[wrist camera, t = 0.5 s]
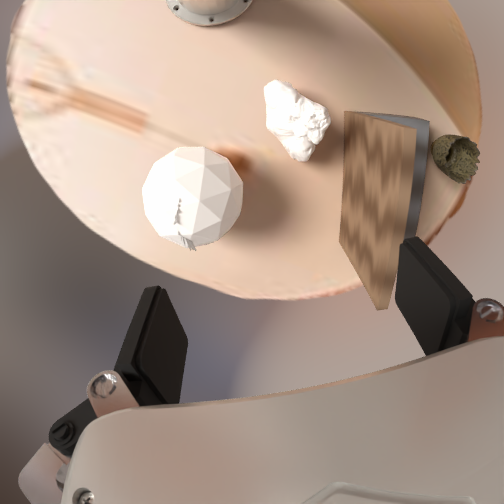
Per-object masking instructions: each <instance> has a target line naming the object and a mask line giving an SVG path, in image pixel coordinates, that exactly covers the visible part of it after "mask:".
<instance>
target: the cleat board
mask: <svg viewBox="0 0 504 504" xmlns="http://www.w3.org/2000/svg"><path fill="white" fill-rule="evenodd" d="M428 138H429V121H427V120H424V119H420V118H416V117H409V116H401V115H391V114H380V113H368V112H351V111H344V171H343V193H342V210H341V224H340V237H339V243H340V244H341V246H342V248H343V249H344V251H345V253H346V255H347V256H348V258H349V260H350V262H351V263H352V265H353V267H354V269H355V270H356V272H357V274H358V276H359V278H360V279H361V281H362V283H363V285H364V287H365V288H366V290H367V292H368V294H369V296H370V298H371V299H372V301H373V303H374V305H375V307H376V309H377V310H384V309H388V305H389V302H390V298H391V294H392V290H393V286H394V282H395V277H396V273H397V269H398V260H399V246H400V244H401V243H403V240H404V239H407V238H411V237H415V235H416V230H417V225H418V219H419V213H420V207H421V201H422V194H423V187H424V179H425V171H426V162H427V151H428Z"/></svg>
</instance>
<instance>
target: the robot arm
mask: <svg viewBox="0 0 504 504" xmlns="http://www.w3.org/2000/svg"><path fill="white" fill-rule="evenodd" d="M244 1H247V3H244ZM251 2H252V0H166V3H167V5H168V7H169V9H170V10H171V11H172V12H173V13H174V14H175V15H176V16H177V17H178V18H180V19H181V20H183V21H185V22H187V23H190V24H194V25H200V26H212V25H218V24H223V23H226V22H228V21H231V20H233V19H235V18H236V17H238V16H239V15H241V14H242V13H243V12H244V11H245V10H246V9H247V8H248V7H249V6H250V4H251ZM176 8H179V9H178V10H176ZM211 19H213V20H214V21H213V22H211V21H210V20H211ZM472 297H473V296H472V295H471V293H470V292H469V291H468V290H467V289H466V288H465V286H464V285H463V284H462V283H461V282H460V281H459V280H458V279H457V277H456V276H455V275H454V274H453V273H452V272H451V271H450V270H449V269H448V268H447V266H446V265H445V264H444V263H443V262H442V261H441V260H440V259H439V258H438V257H437V256H436V255H435V254H434V253H433V252H432V251H431V249H429V247H428V246H427V245H426V244H425V243H424V242H423V241H422V240H421V239H420V238H419V237H411V238H407V239H404V240H403V243H401V244H400V246H399V260H398V272H397V283H396V292H395V301H396V304H397V306H398V308H399V309H400V311H401V313H402V314H403V316H404V318H405V319H406V321H407V323H408V325H409V326H410V328H411V330H412V331H413V333H414V335H415V336H416V339H417V340H418V342H419V344H420V346H421V347H422V349H423V351H424V353H425V355H426V356H425V357H422V358H419V359H416V360H412V361H409V362H406V363H403V364H400V365H397V366H393V367H390V368H386V369H383V370H379V371H376V372H372V373H368V374H364V375H360V376H356V377H353V378H348V379H344V380H340V381H336V382H331V383H327V384H322V385H317V386H313V387H307V388H302V389H296V390H291V391H285V392H279V393H273V394H267V395H259V396H252V397H245V398H236V399H227V400H217V401H206V402H195V403H181V404H179V400H180V393H181V386H182V379H183V373H184V366H185V360H186V353H187V347H188V339H187V336H186V334H185V332H184V329H183V327H182V325H181V323H180V321H179V319H178V316H177V314H176V312H175V310H174V308H173V305H172V303H171V301H170V299H169V296H168V294H167V292H166V290H165V289H161V287H160V286H153V287H147V288H145V289H144V292H143V294H142V296H141V299H140V301H139V304H138V306H137V309H136V311H135V314H134V316H133V319H132V322H131V324H130V326H129V329H128V331H127V334H126V337H125V340H124V342H123V345H122V348H121V351H120V354H119V356H118V359H117V362H116V365H115V368H114V371H111V370H110V371H109V370H107V371H103V372H101V373H98V374H97V375H96V376H94V377H93V378H92V380H91V381H90V382H89V384H88V387H87V395H88V399H87V400H85V401H84V402H82V403H81V404H80V405H78V406H77V407H76V408H74V409H73V410H71V411H70V412H69V413H67V414H66V415H64V416H63V417H62V418H60V419H59V420H57V421H56V422H55V423H54V424H53V426H52V427H51V429H50V432H49V442H50V443H49V444H48V445H47V444H46V443H44V444H43V445H42V447H41V448H40V449H39V450H38V451H37V453H36V454H35V455H34V456H33V457H32V459H31V460H30V461H29V462H28V464H27V465H26V466H25V467H24V469H23V470H22V471H21V473H20V475H19V479H18V481H19V486H20V488H21V490H22V491H23V493H24V494H25V495H26V497H27V498H28V499H29V501H30V502H31V504H504V306H503V305H502V304H501V303H499V302H498V301H496V300H493V299H490V298H483V299H480V300H478V301H476V302H475V301H474V300H473V299H472Z"/></svg>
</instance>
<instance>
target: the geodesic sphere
mask: <svg viewBox="0 0 504 504" xmlns="http://www.w3.org/2000/svg"><path fill="white" fill-rule="evenodd" d="M142 193H143V200H144V208H145V214H146V216H147V218H148V219H149V221H150V222H151V224H152V225H153V227H154V228H155V230H156V231H157V233H158V234H159V236H161V237H163V238H165V239H167V240H169V241H172V242H174V243H176V244H178V245H181V246H183V247H185V248H189V249H190V251H191V248H192V249H193V250H195V251H196V249H195V247H196V246H201V245H207V244H210V243H212V242H215V241H217V240H219V239H220V238H221V237H222V236H223V235H224V234H225V233H226V232H228V231H229V230H230V229H231V227H232V226H233V224H234V223H235V221H236V220H237V218H238V217H239V215H240V212H241V208H242V200H243V182H242V180H241V178H240V177H239V175H238V174H237V172H236V171H235V169H234V168H233V166H232V164H231V163H230V161H229V160H228V158H226V157H224V156H222V155H220V154H218V153H216V152H214V151H212V150H210V149H208V148H206V147H178V148H177V149H175V150H174V151H172V152H170V153H169V154H167V155H166V156H164V157H163V158H161V159H160V160H158V161H157V162H155V163H154V165H153V167H152V169H151V171H150V173H149V175H148V177H147V180H146V182H145V184H144V186H143V188H142Z"/></svg>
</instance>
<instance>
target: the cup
mask: <svg viewBox="0 0 504 504" xmlns="http://www.w3.org/2000/svg"><path fill="white" fill-rule="evenodd" d="M476 146H477V144H476V143H474V142H472V141H470V139H469V138H468V137H463V136H457V135H444V136H441V137H440V138H438V139H437V140H435V141H434V142H433V143H432V145H431V153H432V155H433V159H434V161H435V163H436V165H437V166H438V168H439V169H440V170H441V171H443V172H444V173H445V174H446V175H447V176H449V177H450V178H451V179H453V180H455V181H456V182H458V183H460V182H461V183H463V184H465V183H466V180H471V177H470V176H472V175H475V174H476V173H475V171H477V170H478V167H477V165H476V164H475V163H480V161H479V160H478V158H477V157H478V156H479V154H480V152H479V150H478V149H477V147H476ZM469 175H470V176H469Z"/></svg>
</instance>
